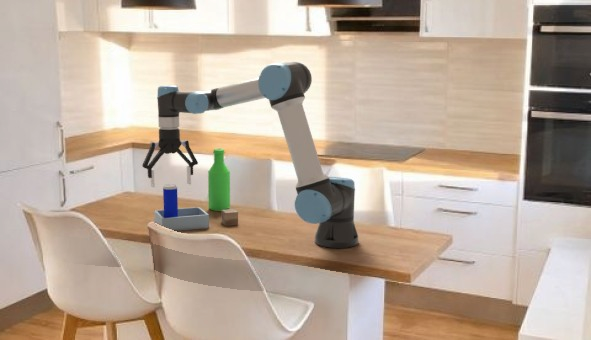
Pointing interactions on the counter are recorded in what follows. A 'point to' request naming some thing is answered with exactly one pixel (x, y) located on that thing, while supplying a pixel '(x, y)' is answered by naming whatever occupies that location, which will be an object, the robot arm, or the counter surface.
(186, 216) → the box
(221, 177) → the bottle
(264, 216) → the counter surface
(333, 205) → the robot arm
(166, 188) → the beverage can
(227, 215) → the walnut cube
